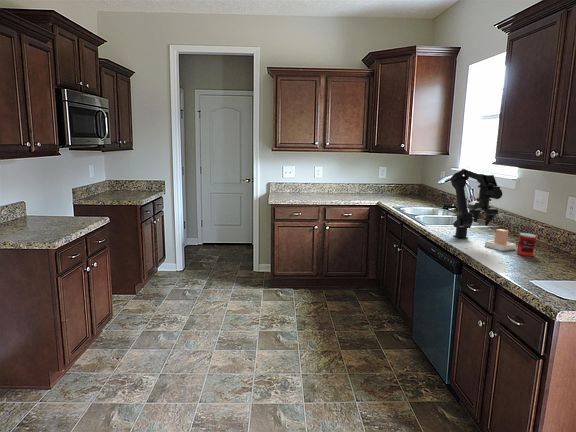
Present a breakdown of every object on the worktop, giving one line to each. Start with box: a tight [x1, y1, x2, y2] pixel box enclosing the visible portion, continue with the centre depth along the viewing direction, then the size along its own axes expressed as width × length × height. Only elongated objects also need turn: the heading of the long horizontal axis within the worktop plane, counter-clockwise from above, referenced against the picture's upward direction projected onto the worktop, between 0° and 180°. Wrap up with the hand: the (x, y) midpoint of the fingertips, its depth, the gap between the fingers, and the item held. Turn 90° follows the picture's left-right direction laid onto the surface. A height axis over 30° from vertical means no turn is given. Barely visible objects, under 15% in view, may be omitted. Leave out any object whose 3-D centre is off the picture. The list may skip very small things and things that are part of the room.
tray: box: [484, 239, 517, 252], centre depth 234 cm, size 11×11×3 cm
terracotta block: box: [493, 228, 509, 245], centre depth 233 cm, size 4×4×10 cm
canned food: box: [516, 232, 537, 258], centre depth 221 cm, size 8×8×11 cm
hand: (480, 223), depth 238 cm, fingers open, 9 cm apart
